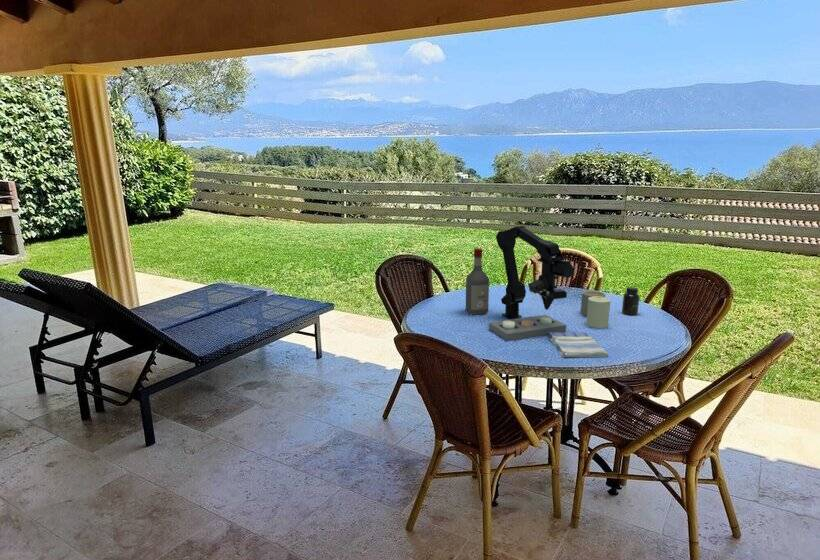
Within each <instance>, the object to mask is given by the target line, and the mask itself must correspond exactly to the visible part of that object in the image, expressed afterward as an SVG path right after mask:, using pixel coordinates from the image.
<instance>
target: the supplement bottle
mask: <svg viewBox="0 0 820 560" xmlns="http://www.w3.org/2000/svg"><path fill="white" fill-rule="evenodd" d="M638 292H639V287H635V286H627V287H626V289H625V293H624V294H623V295H622V296H623V297H622V306H621V313H622V314H623V313H624V314H623V315H626V314H627V315H626V316H637V315H638V313H639V305H640V295H639V294H638Z"/></svg>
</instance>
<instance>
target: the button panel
mask: <svg viewBox="0 0 820 560" xmlns="http://www.w3.org/2000/svg"><path fill="white" fill-rule="evenodd" d="M540 318H550V319H552V323H549V324H542V323H540ZM507 320H508V321H514V322H515V329H509V330H505V329H504V328H502V326H503V321H507ZM524 320H529V321H532V322H534V324H533V326H529V327H524V326H522V325H521V322H522V321H524ZM489 329H490V330H489ZM488 330H489V331H491V332H492V331H493V333H494V334H495V333H496V334H495V335H497V336H498V335H499V336H498V337H500V338H502V339H503V340H505V341H506V342H510V341H517V340H522V339H530V338H536V337H542V336H548V332H553V333H562V332H567V324H566V323H563V322H561V321H560V320H557V319H555V318H553V317H551V316H549V315H547V314H541V315H533V316H532V315H531V316H526V317H518V318H511V319H505V320H504V319H503V320H498V321H490V322H488Z"/></svg>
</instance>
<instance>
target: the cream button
mask: <svg viewBox="0 0 820 560" xmlns="http://www.w3.org/2000/svg"><path fill="white" fill-rule="evenodd" d="M506 320H507V321H504V320H502V321H503V326H502V328H504V329H505V330H509V329H515V322H514V321H508V320H509V319H506Z"/></svg>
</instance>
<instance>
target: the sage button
mask: <svg viewBox="0 0 820 560" xmlns="http://www.w3.org/2000/svg"><path fill="white" fill-rule="evenodd" d="M540 323H542V324H549V323H552V319H550V318H540Z"/></svg>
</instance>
